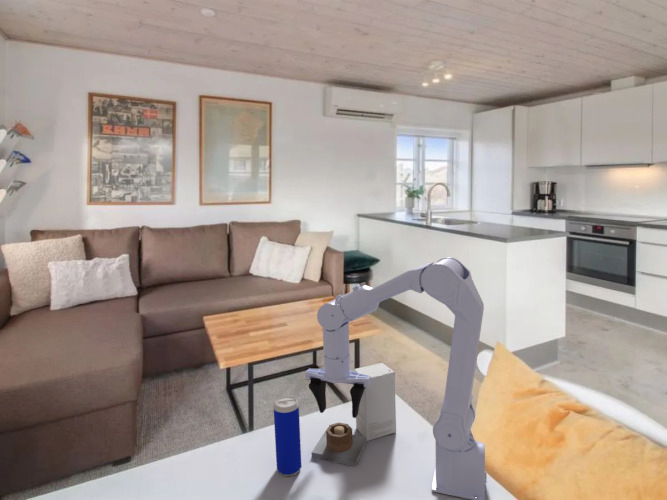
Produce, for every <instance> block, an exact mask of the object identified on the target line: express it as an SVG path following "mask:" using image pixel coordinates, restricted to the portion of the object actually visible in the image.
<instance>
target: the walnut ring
mask: <svg viewBox="0 0 667 500" xmlns="http://www.w3.org/2000/svg"><path fill="white" fill-rule="evenodd" d="M337 426H342V427H344V434H342V435H336V434H334V428H335V427H337ZM325 431H326V439H327V446H328V448H329V449H330V450H331V451H335V452H340V453H341V452H344V451H347V450H350V448H351V446H352V444H353V440H352V435H353V428H352V427H351V426H350V425H349V423H342V422H336V423H332V424H329V425H328V427H327V428H326V430H325Z"/></svg>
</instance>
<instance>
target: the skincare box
mask: <svg viewBox="0 0 667 500" xmlns="http://www.w3.org/2000/svg"><path fill="white" fill-rule="evenodd" d="M353 371H354V372H358V373H361V374H365V375H370V378H371V384H370V386H369V387H368V388H367V387H365V390H364V392H363V395H362V397H361V401H360V405H359V410H358V415H357V417H356V418H355V427H356V429H357V431H358V432H360V435H361V436H363V437H366V441H367V442H368V441H373V440H375V439H378V438H382V437H385V436H389V435H392V434H395V433H397V415H396V413H397V410H396V382H395V381H396V371H394V370H393V369H392V368H391V367H389V366H388V365H386V364H385V363H383V362H380V363H375V364H371V365H367V366H363V367H362V366H361V367H358V368H354V369H353Z"/></svg>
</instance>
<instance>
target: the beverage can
mask: <svg viewBox="0 0 667 500" xmlns="http://www.w3.org/2000/svg"><path fill="white" fill-rule="evenodd" d="M273 420H274V422H273V423H274V424H273V425H274V439H275V443H274V444H275V456H276V457H275V460H276V470H277V472H278V473H279V474H280V475H282V476H284V477H293V476H295V475H296V474H298V473H299V472H300V470H301V469H302V451H301V450H302V449H301V446H302V445H301V428H300V427H301V426H300V405H299V402H298V399H297V398H296V397H294V396H289V395H287V396H281V397H279V398H277V399H276V400H275V401H274V404H273Z"/></svg>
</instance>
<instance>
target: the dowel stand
mask: <svg viewBox="0 0 667 500" xmlns="http://www.w3.org/2000/svg"><path fill="white" fill-rule="evenodd" d="M334 434H336V435H342V434H344V427H342V426H337V427H335V428H334ZM352 440H353V444H352V446H351V448H350V450H347V451H344V452H341V453H340V452H335V451H331V450H330V449H329V448H328V446H327V439H326V430H325V431H324V432H323V434H322V436H321V437H320V439H319V441H318V442H317V443H316V445H315V446H314V448H313V449H312V451H311V458H313V459H318V460H322V461H327V462H333V463H338V464H343V465H347V466H352V467H356V466H357V463H358V462H359V460H360V457H361V456H362V452H364V451H363V450H364V448H365V447H366V444H367V442H368V441H367V440H366V437H364V436H363V435H357V434H356V435H355V434H352Z"/></svg>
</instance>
